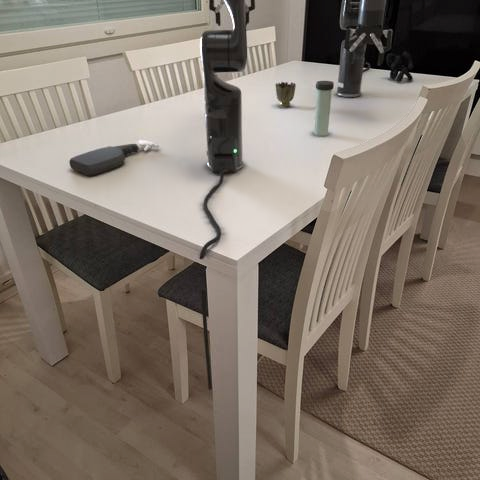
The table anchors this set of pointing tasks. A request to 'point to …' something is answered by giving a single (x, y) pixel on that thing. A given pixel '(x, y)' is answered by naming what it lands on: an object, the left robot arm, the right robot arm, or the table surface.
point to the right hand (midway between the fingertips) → (365, 64)
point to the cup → (285, 93)
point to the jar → (322, 112)
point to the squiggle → (399, 66)
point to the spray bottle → (106, 157)
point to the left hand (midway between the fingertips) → (232, 25)
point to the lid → (324, 85)
